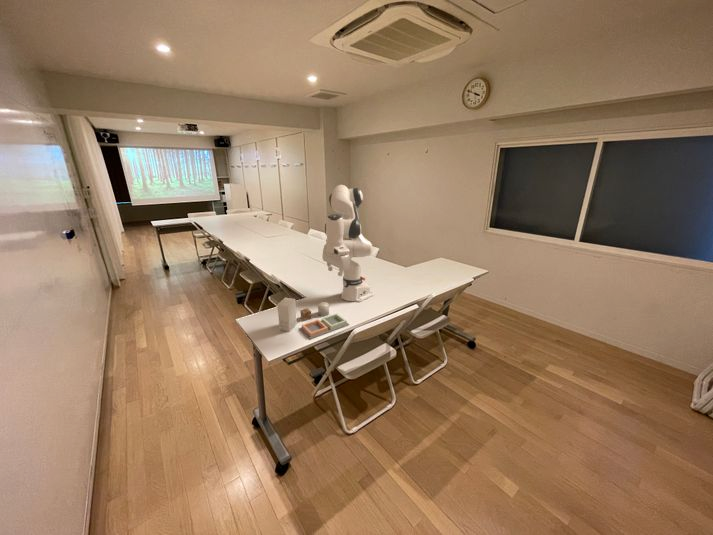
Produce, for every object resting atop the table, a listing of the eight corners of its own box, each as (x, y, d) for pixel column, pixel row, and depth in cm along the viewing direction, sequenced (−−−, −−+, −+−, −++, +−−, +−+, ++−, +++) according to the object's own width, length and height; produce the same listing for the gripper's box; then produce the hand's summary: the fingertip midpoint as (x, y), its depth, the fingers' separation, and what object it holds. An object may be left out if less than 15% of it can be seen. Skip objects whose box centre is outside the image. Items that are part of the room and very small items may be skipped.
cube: (307, 315, 159) (307, 308, 158) (311, 318, 156) (311, 311, 154) (300, 317, 157) (300, 310, 155) (304, 321, 153) (303, 313, 152)
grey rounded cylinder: (325, 310, 166) (325, 301, 164) (331, 314, 161) (331, 305, 159) (316, 313, 162) (316, 303, 160) (321, 317, 158) (321, 308, 156)
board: (337, 316, 159) (337, 312, 159) (349, 325, 150) (349, 320, 150) (299, 328, 146) (299, 324, 145) (310, 339, 137) (309, 335, 136)
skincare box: (287, 322, 152) (285, 296, 147) (297, 324, 150) (296, 298, 145) (278, 330, 144) (276, 303, 139) (290, 332, 143) (288, 305, 137)
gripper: (319, 244, 144) (319, 268, 149) (341, 253, 129) (340, 280, 134) (329, 242, 148) (329, 266, 153) (351, 251, 133) (351, 277, 137)
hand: (335, 273), depth 143 cm, fingers open, 8 cm apart
